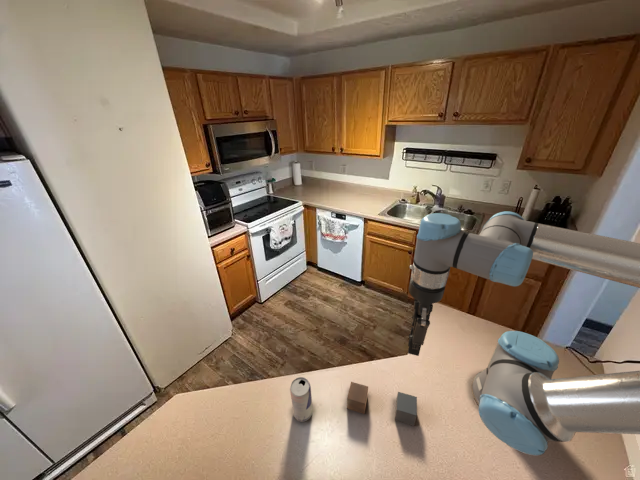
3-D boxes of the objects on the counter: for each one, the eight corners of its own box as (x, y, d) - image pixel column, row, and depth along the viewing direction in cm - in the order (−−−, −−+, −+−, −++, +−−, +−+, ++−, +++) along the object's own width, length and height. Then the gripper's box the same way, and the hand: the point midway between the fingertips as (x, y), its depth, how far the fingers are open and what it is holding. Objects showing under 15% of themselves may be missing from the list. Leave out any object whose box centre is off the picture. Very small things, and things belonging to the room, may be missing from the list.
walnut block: (367, 396, 75) (368, 386, 73) (364, 414, 71) (365, 403, 69) (350, 391, 77) (351, 381, 74) (346, 408, 73) (347, 398, 70)
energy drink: (315, 406, 73) (313, 380, 68) (307, 425, 69) (304, 400, 63) (299, 399, 75) (296, 373, 70) (290, 417, 71) (285, 391, 66)
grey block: (414, 407, 72) (416, 396, 70) (414, 426, 68) (416, 415, 66) (395, 401, 74) (397, 391, 72) (394, 419, 70) (396, 409, 67)
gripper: (411, 260, 66) (400, 326, 77) (409, 298, 54) (397, 370, 65) (443, 264, 64) (427, 332, 75) (449, 305, 51) (429, 378, 63)
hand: (413, 349), depth 70 cm, fingers closed
